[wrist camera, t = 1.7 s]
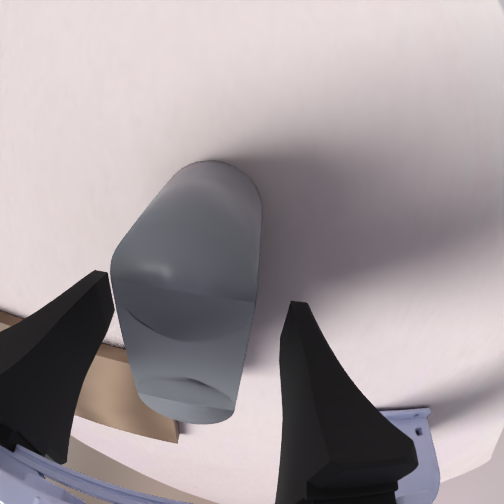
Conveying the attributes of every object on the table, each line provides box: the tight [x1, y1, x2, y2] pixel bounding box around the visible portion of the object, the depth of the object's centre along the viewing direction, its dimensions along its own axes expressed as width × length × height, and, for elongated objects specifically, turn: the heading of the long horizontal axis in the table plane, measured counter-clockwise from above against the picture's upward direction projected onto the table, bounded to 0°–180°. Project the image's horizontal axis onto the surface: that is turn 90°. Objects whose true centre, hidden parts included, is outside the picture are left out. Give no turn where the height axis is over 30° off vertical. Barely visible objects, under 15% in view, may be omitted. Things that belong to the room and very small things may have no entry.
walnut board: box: [0, 311, 179, 443], centre depth 20 cm, size 16×12×1 cm
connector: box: [110, 161, 262, 424], centre depth 12 cm, size 4×13×5 cm, turn 172°
